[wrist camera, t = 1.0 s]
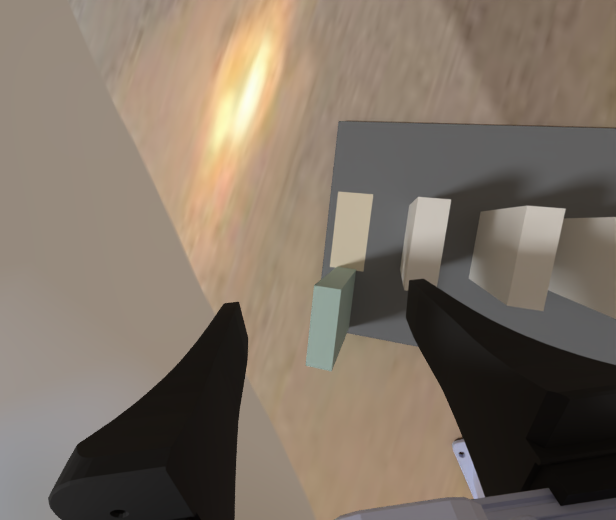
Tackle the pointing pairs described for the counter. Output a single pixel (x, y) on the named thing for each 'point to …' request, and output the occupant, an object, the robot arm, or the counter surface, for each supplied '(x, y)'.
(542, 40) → the counter surface
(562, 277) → the domino
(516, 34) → the counter surface
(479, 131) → the mat
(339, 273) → the domino
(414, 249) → the domino
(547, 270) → the domino
